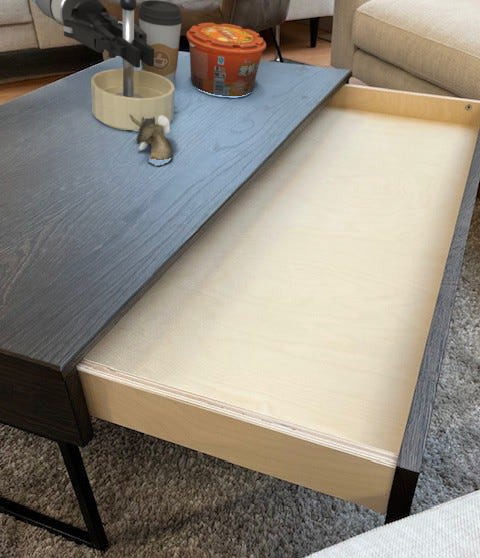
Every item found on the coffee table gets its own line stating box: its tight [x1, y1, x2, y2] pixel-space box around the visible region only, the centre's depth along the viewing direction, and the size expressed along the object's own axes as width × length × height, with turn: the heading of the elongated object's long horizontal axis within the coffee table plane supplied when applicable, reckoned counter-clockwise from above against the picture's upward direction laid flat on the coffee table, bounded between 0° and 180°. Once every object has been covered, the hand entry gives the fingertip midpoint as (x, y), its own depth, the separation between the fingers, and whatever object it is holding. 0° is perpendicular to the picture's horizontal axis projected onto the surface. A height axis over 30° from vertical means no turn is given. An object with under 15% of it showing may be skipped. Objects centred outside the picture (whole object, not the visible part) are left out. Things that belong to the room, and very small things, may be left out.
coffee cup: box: [137, 0, 183, 85], centre depth 120 cm, size 8×8×15 cm
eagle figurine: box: [129, 115, 174, 160], centre depth 100 cm, size 8×7×9 cm
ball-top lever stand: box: [115, 0, 143, 98], centre depth 103 cm, size 5×5×19 cm
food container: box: [186, 22, 267, 96], centre depth 126 cm, size 16×16×11 cm
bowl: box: [90, 68, 176, 131], centre depth 110 cm, size 14×14×6 cm
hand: (144, 58), depth 99 cm, fingers closed on ball-top lever stand, 2 cm apart
